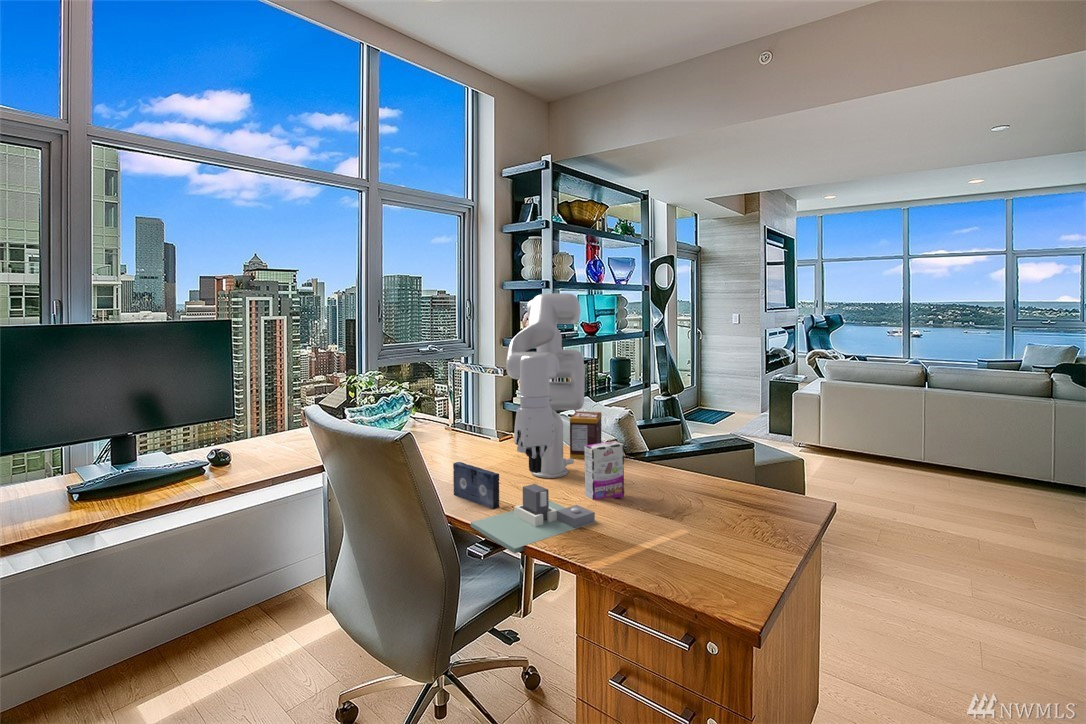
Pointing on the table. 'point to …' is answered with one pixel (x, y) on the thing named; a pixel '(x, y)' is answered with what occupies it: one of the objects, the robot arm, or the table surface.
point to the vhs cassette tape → (476, 485)
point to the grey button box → (575, 516)
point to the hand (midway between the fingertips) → (535, 471)
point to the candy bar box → (604, 470)
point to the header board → (522, 527)
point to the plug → (536, 500)
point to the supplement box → (584, 432)
